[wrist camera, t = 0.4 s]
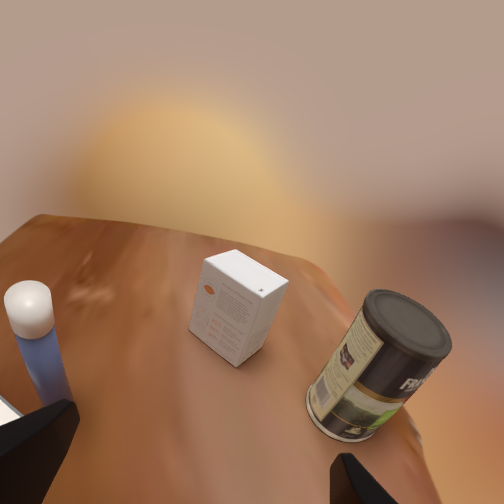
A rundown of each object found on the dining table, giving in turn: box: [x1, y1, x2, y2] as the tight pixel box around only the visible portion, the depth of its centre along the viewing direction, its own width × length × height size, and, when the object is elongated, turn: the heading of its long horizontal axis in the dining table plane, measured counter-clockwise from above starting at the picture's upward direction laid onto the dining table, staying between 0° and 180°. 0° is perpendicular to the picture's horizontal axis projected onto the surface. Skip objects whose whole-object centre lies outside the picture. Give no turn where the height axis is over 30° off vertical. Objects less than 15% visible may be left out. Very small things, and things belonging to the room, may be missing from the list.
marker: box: [4, 281, 74, 407], centre depth 16 cm, size 3×3×13 cm
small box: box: [189, 249, 289, 367], centre depth 33 cm, size 8×6×10 cm
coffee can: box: [306, 289, 452, 442], centre depth 26 cm, size 10×10×14 cm
